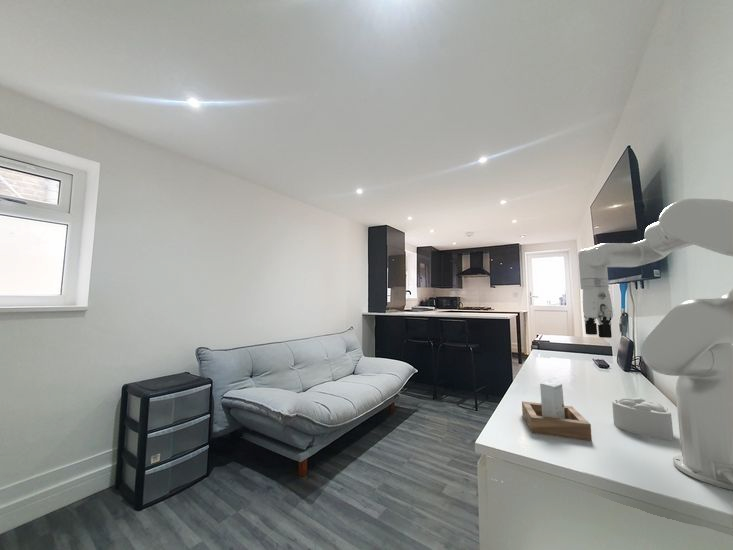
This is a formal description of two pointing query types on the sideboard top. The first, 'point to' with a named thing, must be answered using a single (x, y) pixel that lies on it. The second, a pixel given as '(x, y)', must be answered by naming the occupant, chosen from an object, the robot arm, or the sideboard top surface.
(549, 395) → the skincare box
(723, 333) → the robot arm
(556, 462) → the sideboard top surface
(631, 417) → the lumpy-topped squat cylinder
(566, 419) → the square wooden tray
